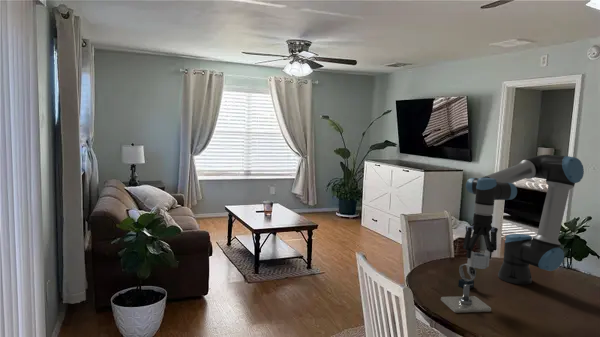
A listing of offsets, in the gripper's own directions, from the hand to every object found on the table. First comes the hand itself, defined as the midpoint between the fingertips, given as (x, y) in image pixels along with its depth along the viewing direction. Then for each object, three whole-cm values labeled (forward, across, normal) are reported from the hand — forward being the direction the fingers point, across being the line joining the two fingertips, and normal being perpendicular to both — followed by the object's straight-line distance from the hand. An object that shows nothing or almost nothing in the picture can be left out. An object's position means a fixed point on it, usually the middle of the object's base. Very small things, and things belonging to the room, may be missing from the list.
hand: (477, 265), depth 180 cm
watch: (+16, -5, -16) cm, 23 cm away
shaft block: (+16, +7, +4) cm, 18 cm away
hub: (0, 0, 0) cm, 0 cm away
